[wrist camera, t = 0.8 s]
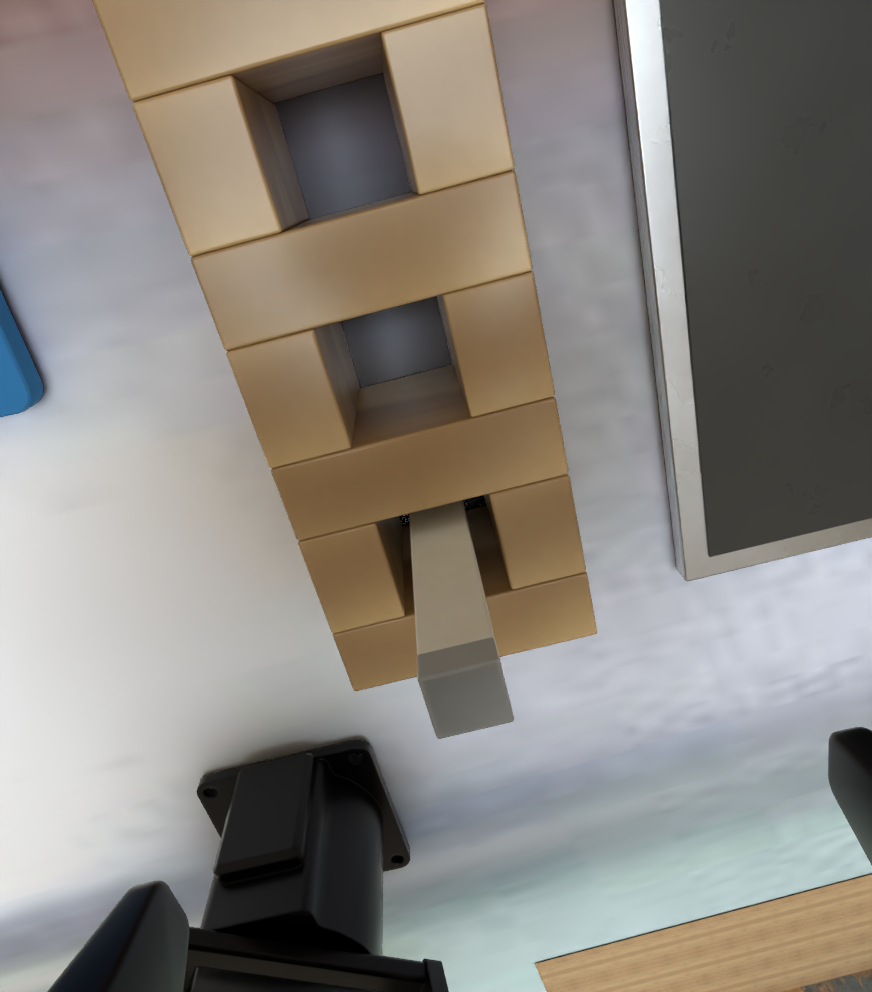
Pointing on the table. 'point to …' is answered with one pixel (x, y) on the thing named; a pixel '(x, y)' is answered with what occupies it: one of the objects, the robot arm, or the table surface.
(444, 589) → the grey square stick
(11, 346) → the handheld gaming device
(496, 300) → the pen stand
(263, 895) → the robot arm
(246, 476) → the table surface
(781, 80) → the tablet
